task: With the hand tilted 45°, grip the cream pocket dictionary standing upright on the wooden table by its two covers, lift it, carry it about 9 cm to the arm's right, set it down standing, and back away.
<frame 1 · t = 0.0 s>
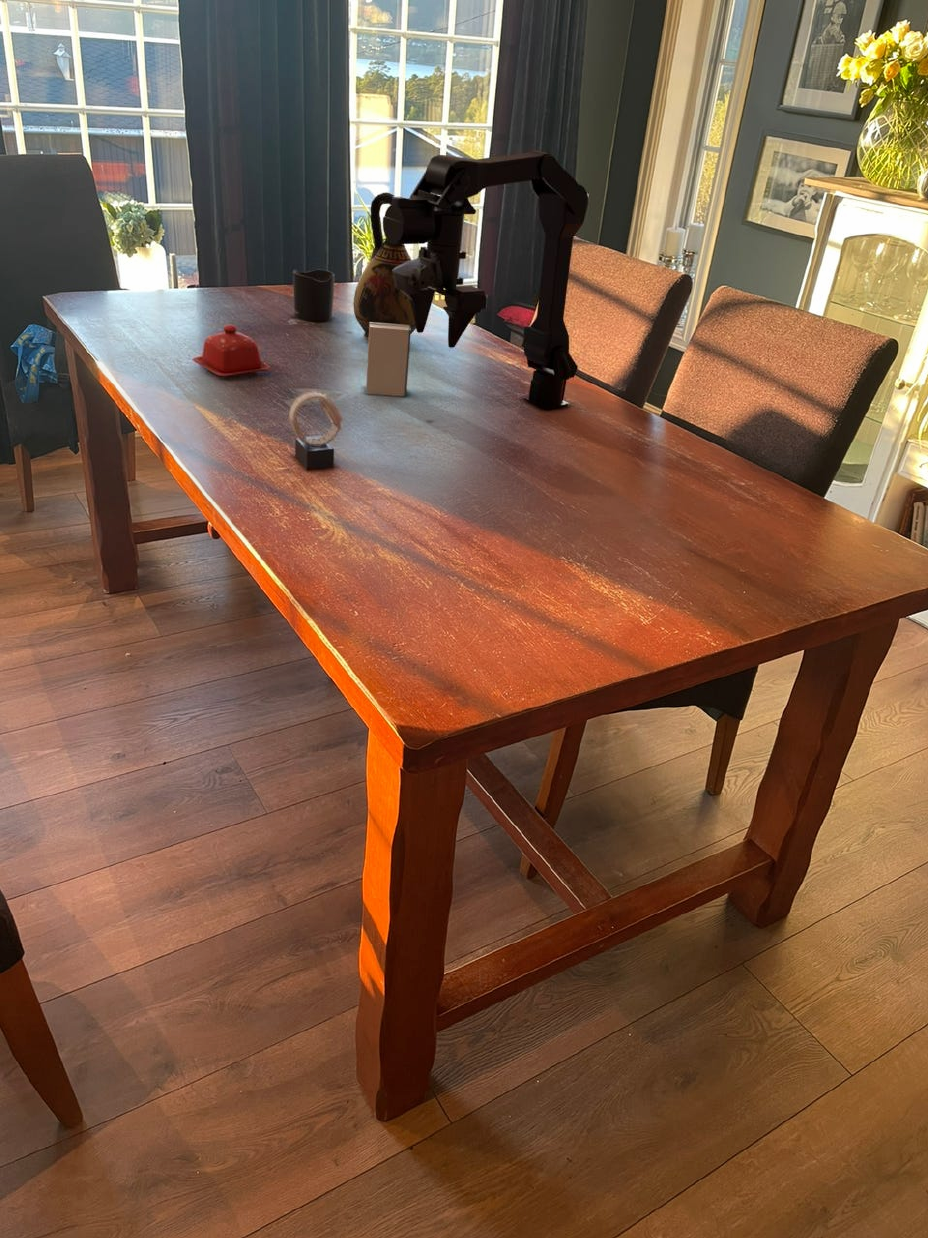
hand: (435, 339, 160), 15 cm above the table, tool pointing down, fingers open, 9 cm apart
butter dish: (231, 370, 181), on the table
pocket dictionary: (386, 392, 179), on the table
ring sculpture: (314, 463, 147), on the table
pen holder: (313, 318, 220), on the table
ceramic jug: (383, 340, 210), on the table
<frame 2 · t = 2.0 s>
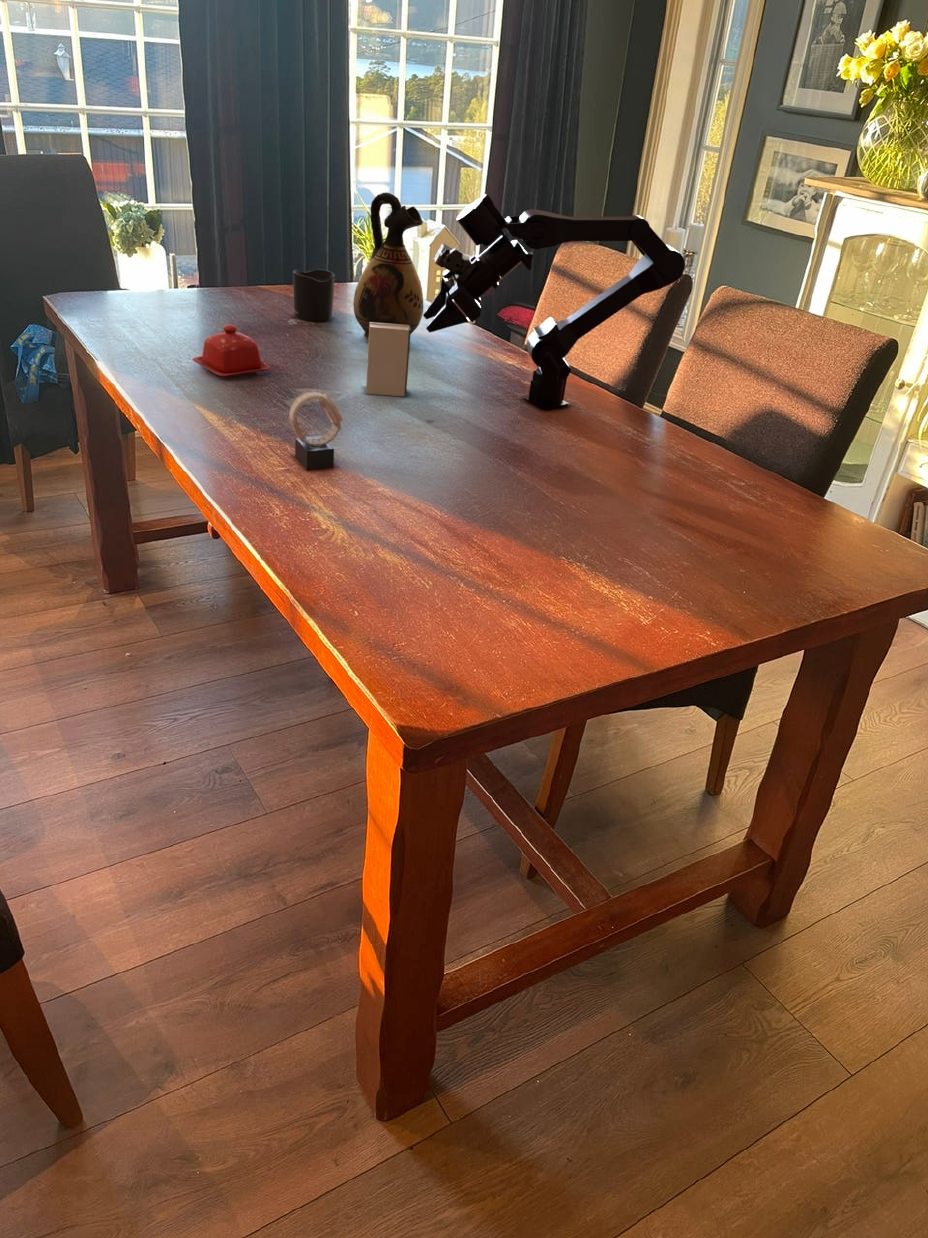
hand: (426, 323, 173), 13 cm above the table, tool tilted 45°, fingers open, 9 cm apart
nothing on the table moved.
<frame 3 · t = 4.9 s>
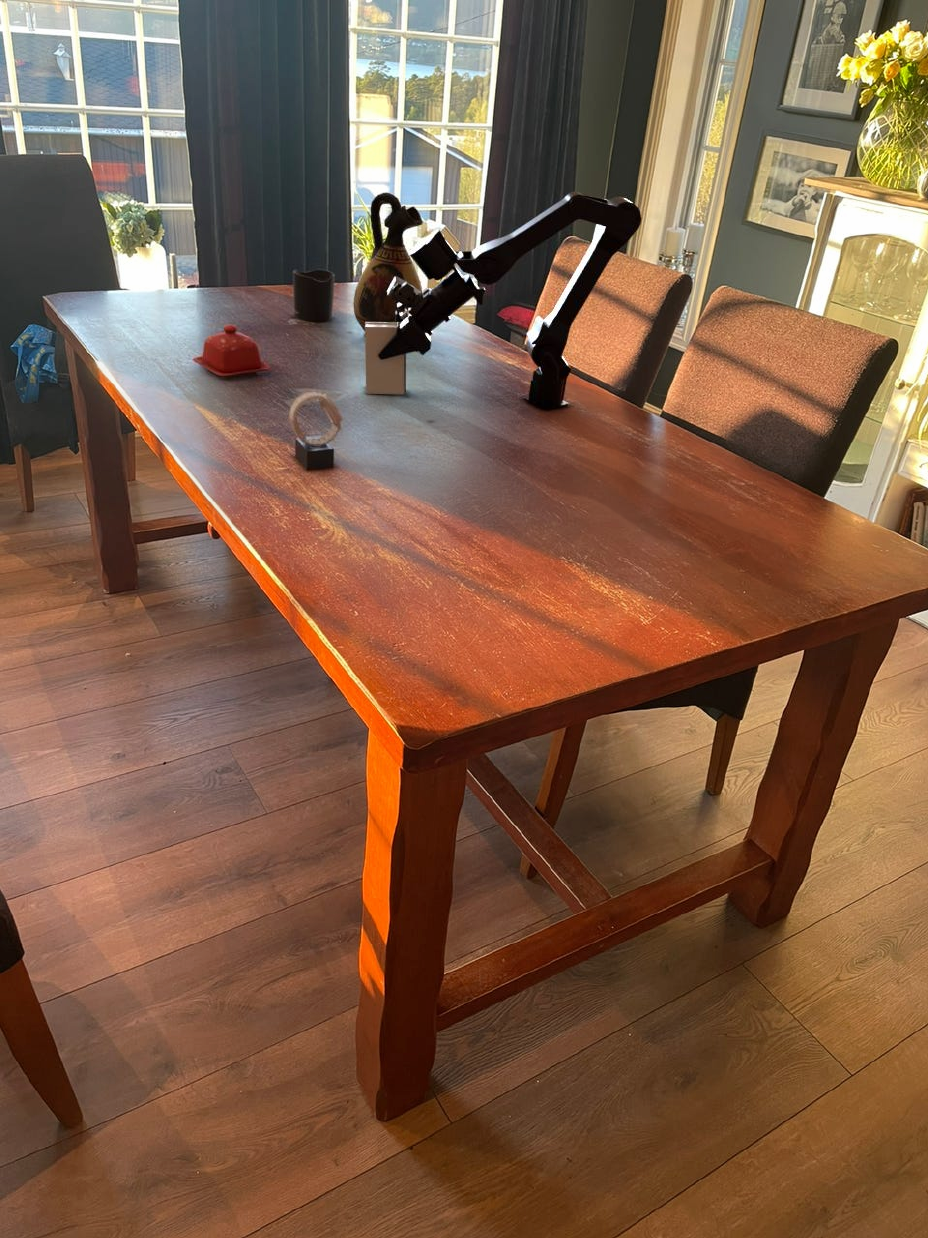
hand: (379, 353, 175), 7 cm above the table, tool tilted 45°, fingers closed on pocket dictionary, 4 cm apart
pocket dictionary: (386, 391, 179), on the table, touching gripper
everything else where it was.
when the fingers open (7 cm above the table, at t = 9.5 s): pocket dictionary stays where it is, on the table.
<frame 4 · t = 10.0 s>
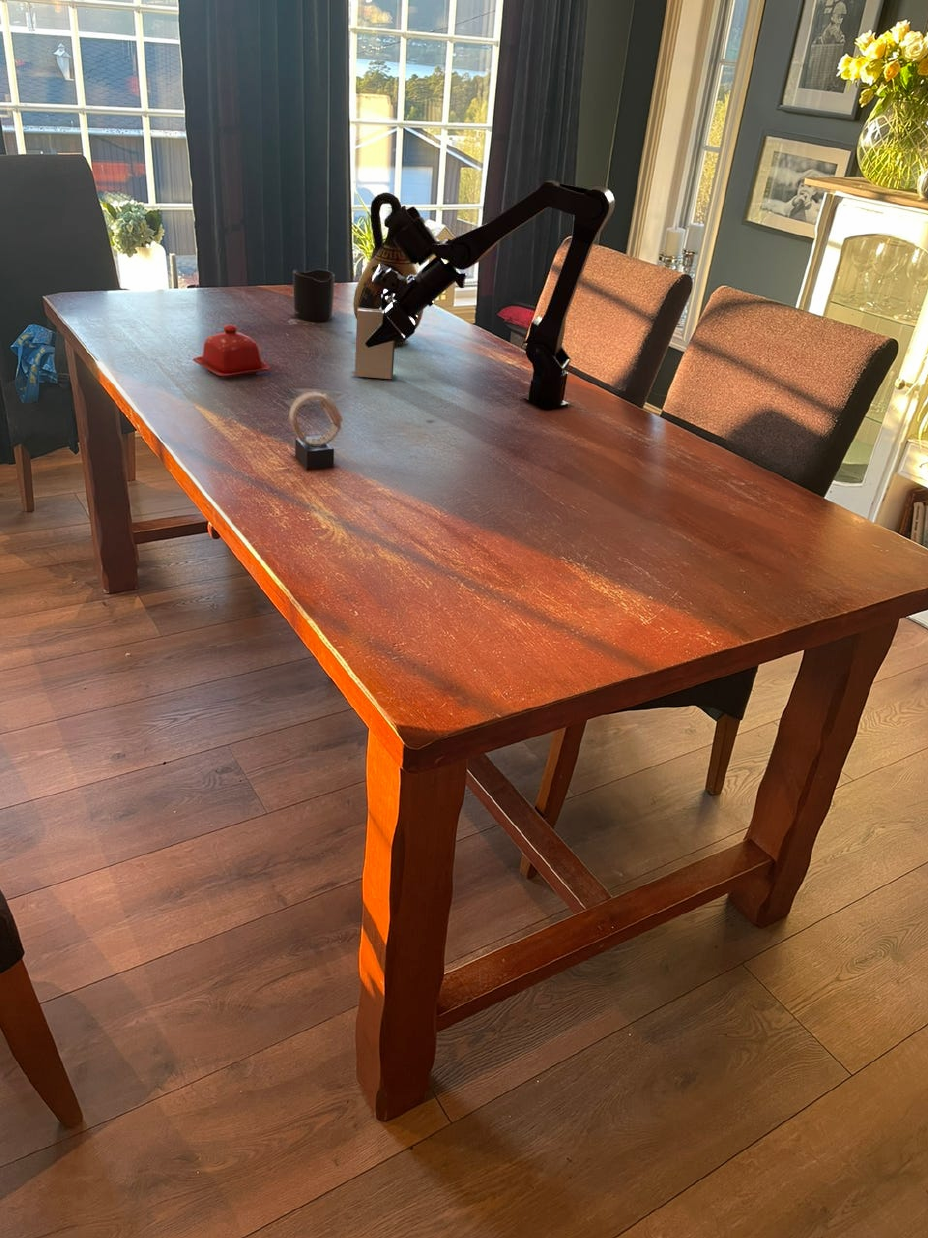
hand: (366, 338, 182), 7 cm above the table, tool tilted 45°, fingers open, 9 cm apart
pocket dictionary: (373, 375, 186), on the table, tilted 5°, touching gripper
everything else where it was.
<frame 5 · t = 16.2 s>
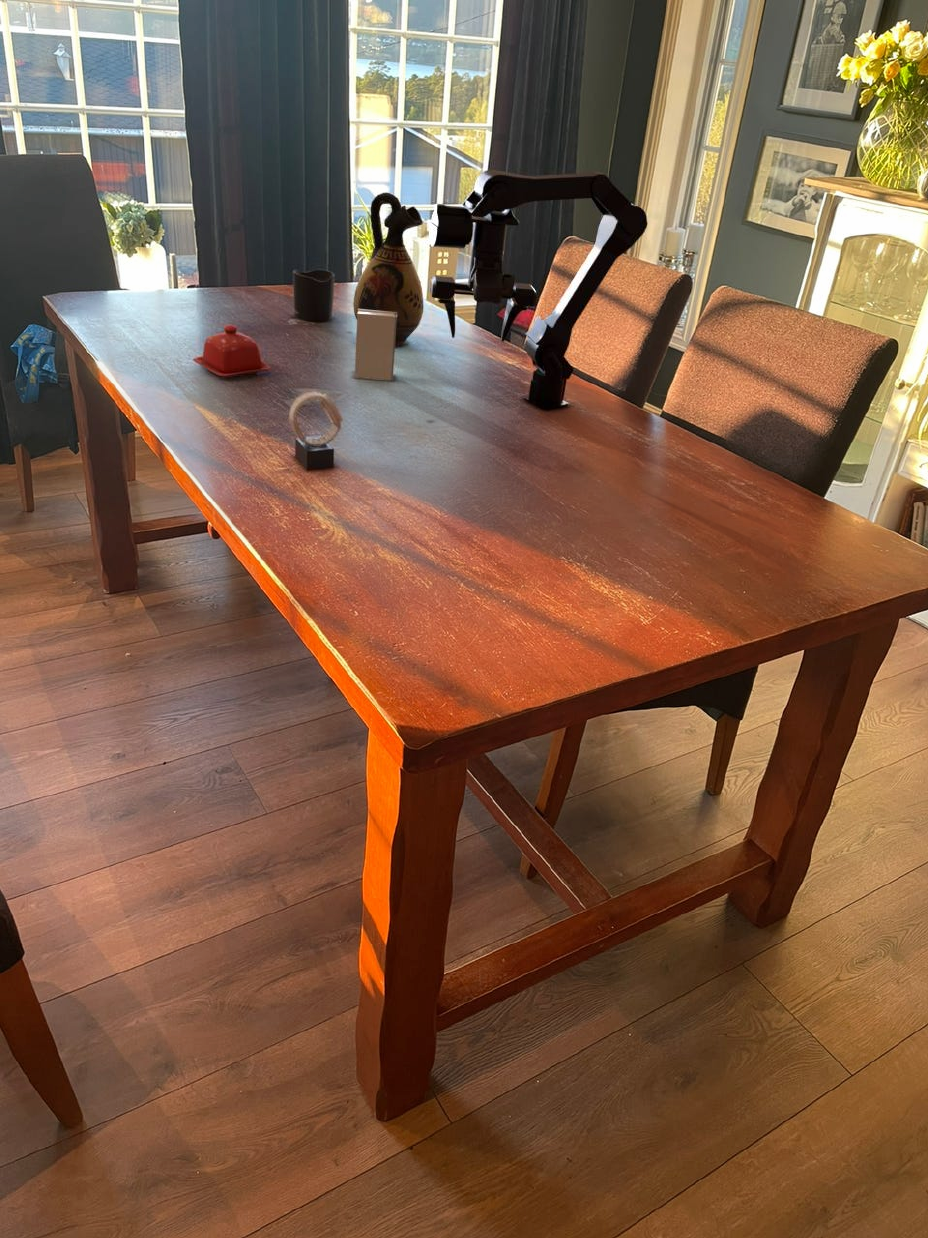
hand: (477, 339, 173), 12 cm above the table, tool pointing down, fingers open, 9 cm apart
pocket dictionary: (373, 376, 186), on the table
everything else where it was.
at the end: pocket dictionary 0.4 cm from the target spot, on the table; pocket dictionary tilted 0°; the gripper is holding nothing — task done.
